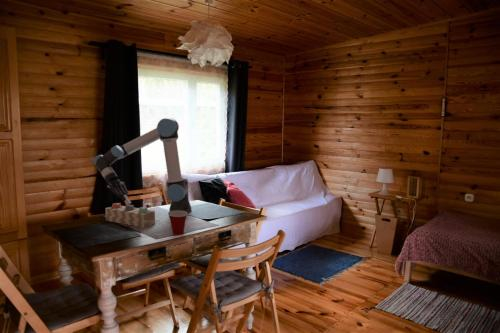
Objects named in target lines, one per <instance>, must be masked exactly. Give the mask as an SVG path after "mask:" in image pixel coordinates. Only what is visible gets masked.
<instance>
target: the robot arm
mask: <svg viewBox="0 0 500 333" xmlns="http://www.w3.org/2000/svg"><path fill="white" fill-rule="evenodd" d="M179 128H180V126H179V123H178V122H177V120H176V119H174V118H172V117H164V118H162V119H159V121H158V123H157V125H156V127H155V128H154V129H152V130H150V131H148V132H146V133H144V134H142V135H140V136H138V137H136V138H133V139H132V140H131V141H128V142H126V143H124V144H122V145H120V146H119V145H114V146H112V147H111V148H110V149H109V150H108V151H107V152H106V153H105V154H104V155H103V154H98V155H96V156H95V157H94V158H93V161H92V162H93V163H94V165H95V167H96V169H97V170H98V171H99V173H100V174H101V176H102V177H103V178H104V181H106V183H107V185H106V188H107V189H109V190H110V191H111V192H112V193H113V195H115V196H116V197H117V198H119V199H121V200H122V201H123V202H124V203H125V205H126V206H128V205H131V203H132V201H131V200H130V197H129V196H128V194H129V191H128V188H127V186H126V182H125V181H121V179H119V176H118V174H117V173H116V171H115V170H114V169H113V167H112V164H114V163H115V162H116V161H118V160H121V159H124V158H126V157H127V156H129V155H131V154H133V153H135V152H136V151H139V150H141V149H143V148H145V147H146V146H149V145H150V144H152V143H154V142H156V141H159V140H160V142H162V145H163V152H164V157H165V158H164V159H165V166H166V171H167V172H166V173H167V180H166V181H165V182H166V184H165V185H166V193H165V194H166V197H167V198H168V199H169V200H170V206H169V208H168V209H169V212H171V211H185V212H187V213H190V212H192V206H191V203H190V200H189V198H190V197H189V180H188V178H184V177H183V176H182V172H181V171H182V170H181V166H180V156H179V150H178V143H177V140H179V133H178V132H179ZM169 212H168V213H169Z"/></svg>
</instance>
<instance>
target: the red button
mask: <svg viewBox="0 0 500 333" xmlns="http://www.w3.org/2000/svg"><path fill="white" fill-rule="evenodd" d="M121 206H122V203H121V202H115V203H112V206H111V207H112V208H114V209H117V208H121Z"/></svg>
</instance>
